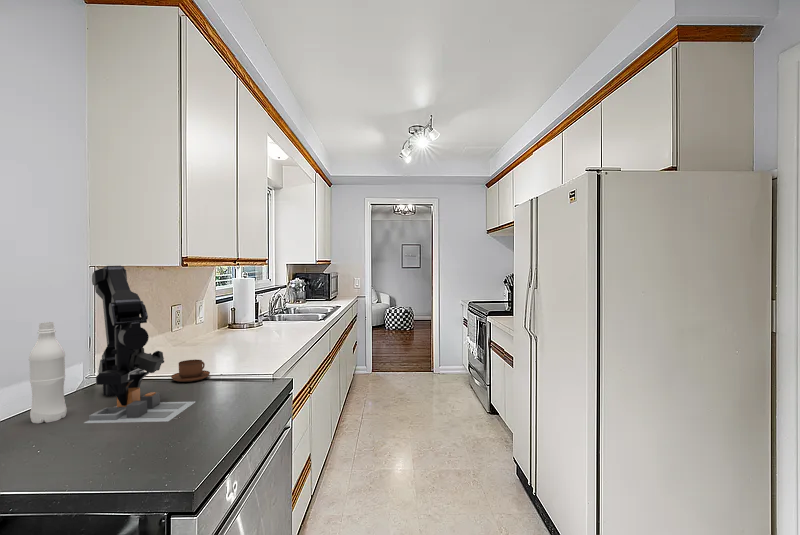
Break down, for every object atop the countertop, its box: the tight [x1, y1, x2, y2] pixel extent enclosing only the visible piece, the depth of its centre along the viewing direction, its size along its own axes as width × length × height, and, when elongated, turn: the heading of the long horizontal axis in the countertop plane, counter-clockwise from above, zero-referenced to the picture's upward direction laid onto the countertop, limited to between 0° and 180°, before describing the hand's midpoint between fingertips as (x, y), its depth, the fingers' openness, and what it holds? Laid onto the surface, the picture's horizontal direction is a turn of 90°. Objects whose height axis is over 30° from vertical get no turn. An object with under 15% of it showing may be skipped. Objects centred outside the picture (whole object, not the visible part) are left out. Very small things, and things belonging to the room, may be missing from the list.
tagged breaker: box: [140, 391, 161, 408], centre depth 125 cm, size 3×4×3 cm
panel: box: [84, 400, 196, 424], centre depth 121 cm, size 20×16×5 cm
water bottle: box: [28, 321, 68, 424], centre depth 117 cm, size 7×7×25 cm
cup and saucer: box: [170, 359, 211, 383], centre depth 161 cm, size 12×12×6 cm
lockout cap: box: [116, 387, 141, 407], centre depth 127 cm, size 4×4×4 cm
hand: (128, 402), depth 127 cm, fingers closed on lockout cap, 4 cm apart
